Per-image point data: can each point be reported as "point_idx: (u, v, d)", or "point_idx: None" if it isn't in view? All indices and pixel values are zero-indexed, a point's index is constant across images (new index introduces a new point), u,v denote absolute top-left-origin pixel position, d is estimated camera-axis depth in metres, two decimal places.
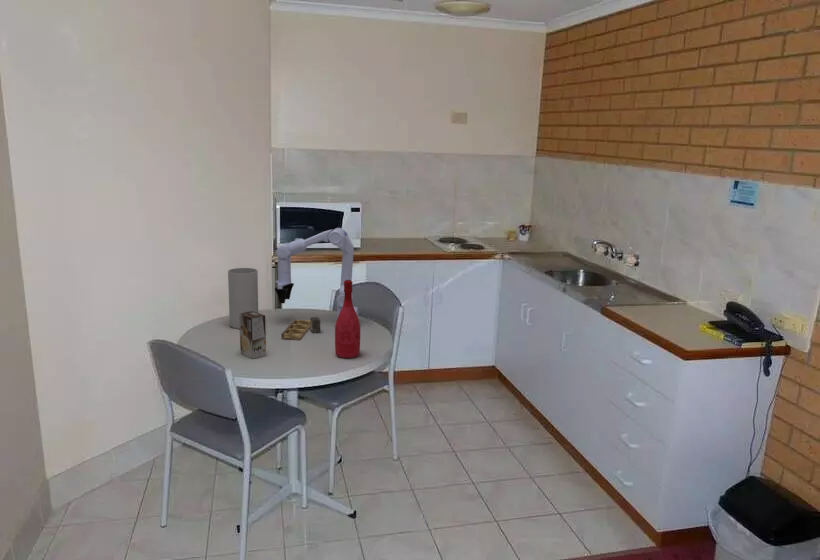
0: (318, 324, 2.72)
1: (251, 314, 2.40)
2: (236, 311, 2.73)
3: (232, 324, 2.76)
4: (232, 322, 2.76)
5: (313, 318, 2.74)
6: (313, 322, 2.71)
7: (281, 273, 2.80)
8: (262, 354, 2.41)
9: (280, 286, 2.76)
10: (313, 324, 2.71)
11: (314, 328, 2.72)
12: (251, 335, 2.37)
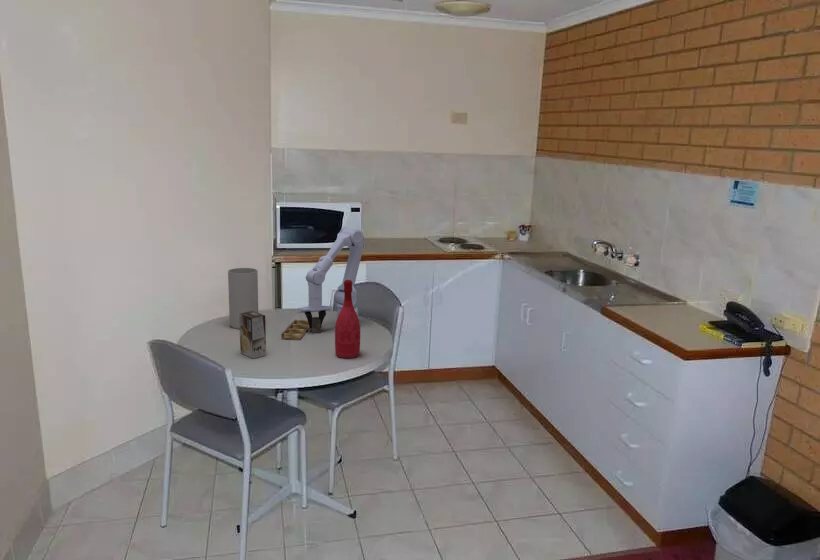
0: (318, 324, 2.72)
1: (251, 314, 2.40)
2: (236, 311, 2.73)
3: (232, 324, 2.76)
4: (232, 322, 2.76)
5: (313, 318, 2.74)
6: (313, 322, 2.71)
7: None
8: (262, 354, 2.41)
9: (298, 310, 2.70)
10: (313, 324, 2.71)
11: (314, 328, 2.72)
12: (251, 335, 2.37)
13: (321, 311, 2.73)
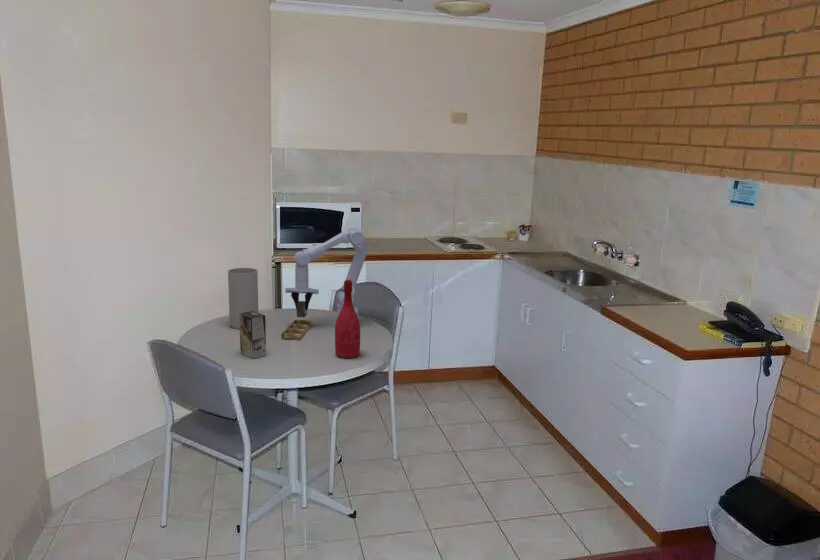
0: (302, 308, 2.75)
1: (251, 314, 2.40)
2: (236, 311, 2.73)
3: (232, 324, 2.76)
4: (232, 322, 2.76)
5: (300, 302, 2.78)
6: (297, 305, 2.75)
7: None
8: (262, 354, 2.41)
9: None
10: (297, 307, 2.76)
11: (298, 311, 2.76)
12: (251, 335, 2.37)
13: (307, 293, 2.76)
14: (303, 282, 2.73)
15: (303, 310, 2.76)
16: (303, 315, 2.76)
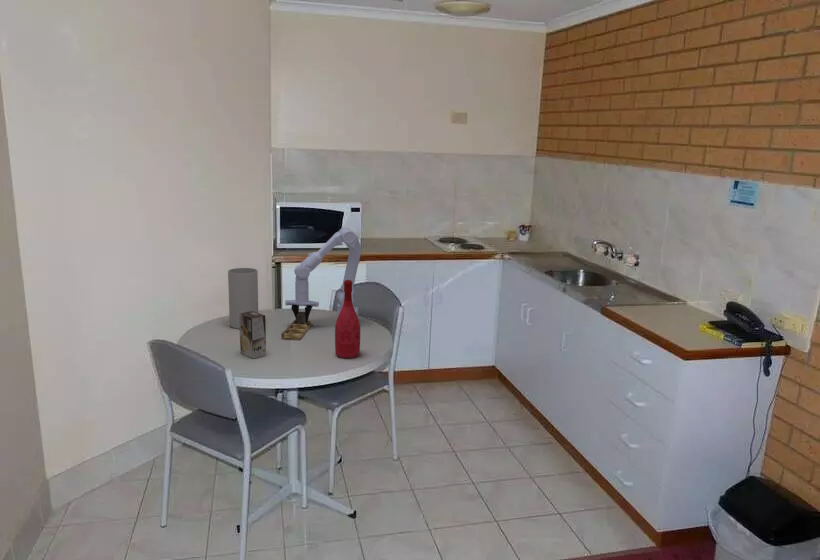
0: (302, 319, 2.76)
1: (251, 314, 2.40)
2: (236, 311, 2.73)
3: (232, 324, 2.76)
4: (232, 322, 2.76)
5: (300, 312, 2.79)
6: (297, 316, 2.76)
7: None
8: (262, 354, 2.41)
9: None
10: (297, 318, 2.77)
11: (298, 322, 2.77)
12: (251, 335, 2.37)
13: (307, 306, 2.77)
14: (303, 295, 2.74)
15: (303, 321, 2.77)
16: None
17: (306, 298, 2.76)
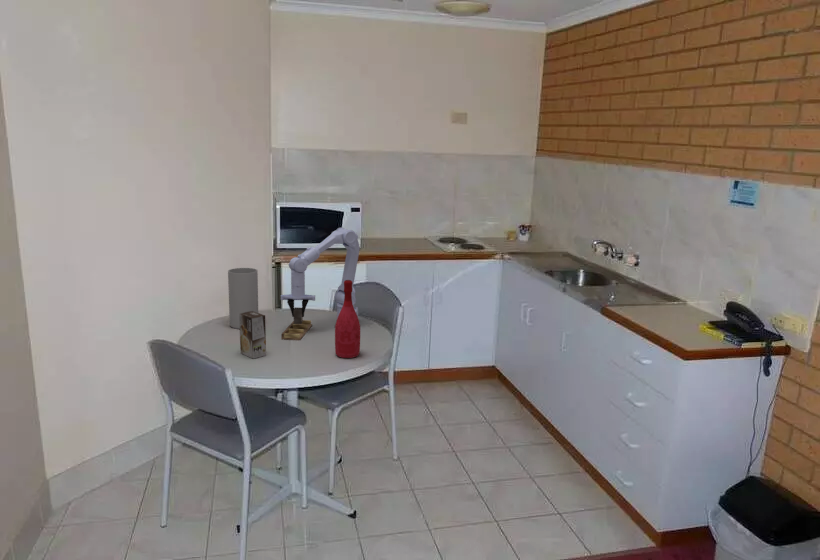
0: (299, 315, 2.69)
1: (251, 314, 2.40)
2: (236, 311, 2.73)
3: (232, 324, 2.76)
4: (232, 322, 2.76)
5: (296, 308, 2.71)
6: (294, 312, 2.69)
7: None
8: (262, 354, 2.41)
9: None
10: (294, 314, 2.69)
11: (295, 318, 2.69)
12: (251, 335, 2.37)
13: (303, 300, 2.70)
14: (300, 288, 2.67)
15: (300, 317, 2.69)
16: (300, 322, 2.70)
17: (303, 292, 2.68)
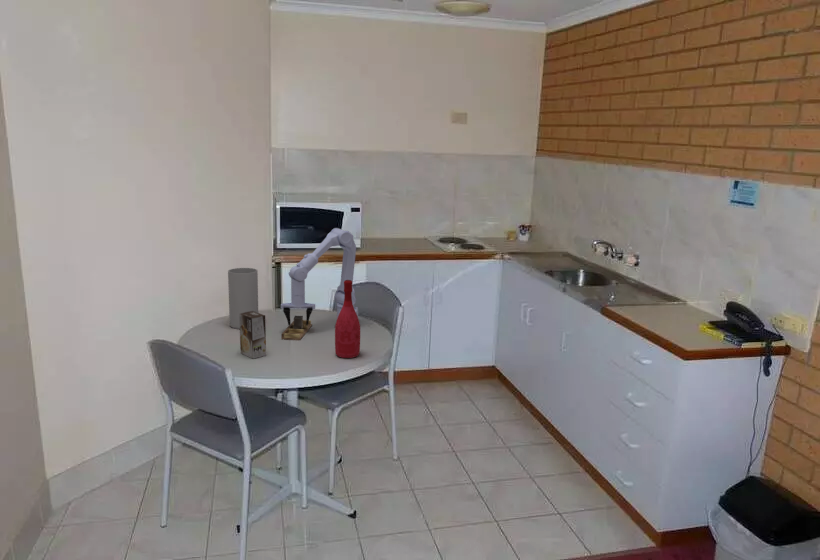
0: (299, 323, 2.70)
1: (251, 314, 2.40)
2: (236, 311, 2.73)
3: (232, 324, 2.76)
4: (232, 322, 2.76)
5: (296, 316, 2.72)
6: (294, 320, 2.70)
7: None
8: (262, 354, 2.41)
9: None
10: (294, 322, 2.70)
11: (295, 326, 2.70)
12: (251, 335, 2.37)
13: (303, 308, 2.70)
14: (300, 297, 2.68)
15: (300, 325, 2.70)
16: None
17: (303, 300, 2.69)
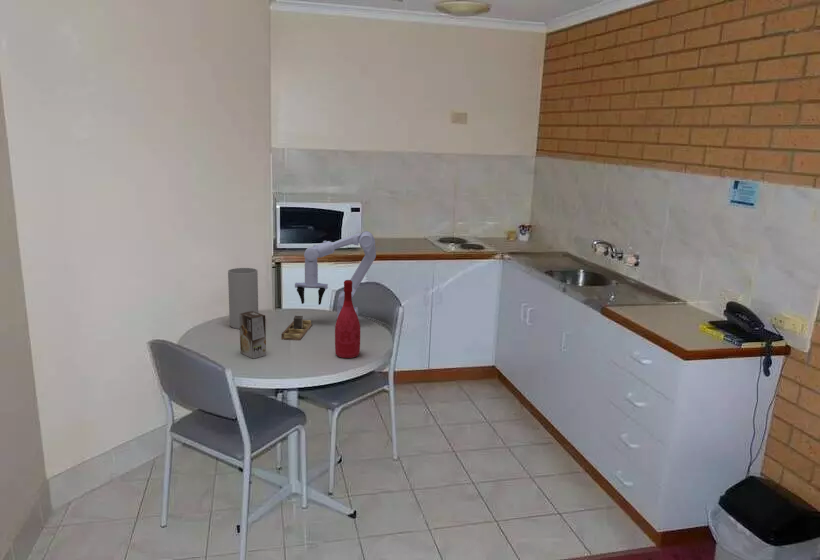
0: (299, 323, 2.70)
1: (251, 314, 2.40)
2: (236, 311, 2.73)
3: (232, 324, 2.76)
4: (232, 322, 2.76)
5: (296, 316, 2.72)
6: (294, 320, 2.70)
7: None
8: (262, 354, 2.41)
9: None
10: (294, 322, 2.70)
11: (295, 326, 2.70)
12: (251, 335, 2.37)
13: None
14: (312, 277, 2.77)
15: (300, 325, 2.70)
16: None
17: (315, 280, 2.79)
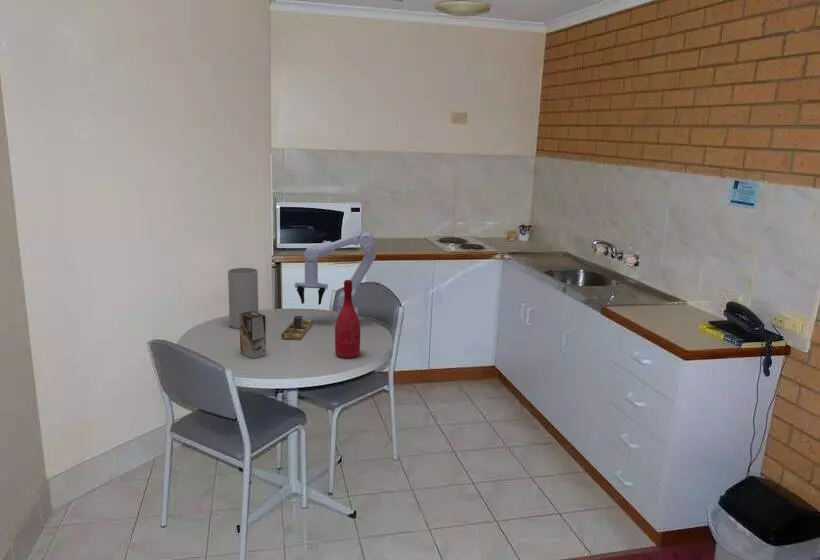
0: (299, 323, 2.70)
1: (251, 314, 2.40)
2: (236, 311, 2.73)
3: (232, 324, 2.76)
4: (232, 322, 2.76)
5: (296, 316, 2.72)
6: (294, 320, 2.70)
7: None
8: (262, 354, 2.41)
9: None
10: (294, 322, 2.70)
11: (295, 326, 2.70)
12: (251, 335, 2.37)
13: None
14: (312, 277, 2.77)
15: (300, 325, 2.70)
16: None
17: (315, 280, 2.79)
